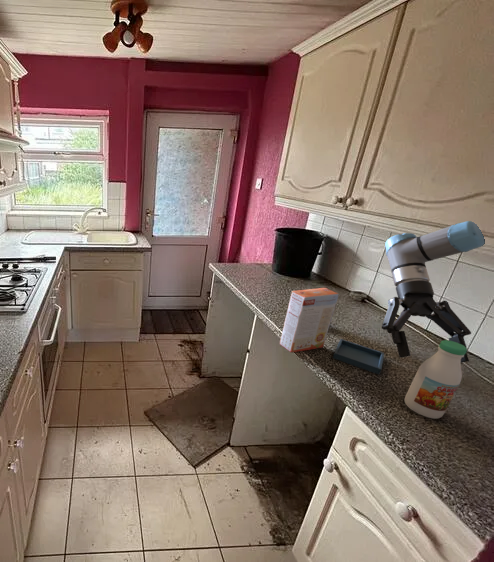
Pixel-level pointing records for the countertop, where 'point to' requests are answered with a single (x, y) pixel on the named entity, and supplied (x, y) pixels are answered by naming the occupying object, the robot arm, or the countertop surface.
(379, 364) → the tray
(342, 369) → the countertop surface
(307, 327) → the cracker box
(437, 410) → the milk bottle
